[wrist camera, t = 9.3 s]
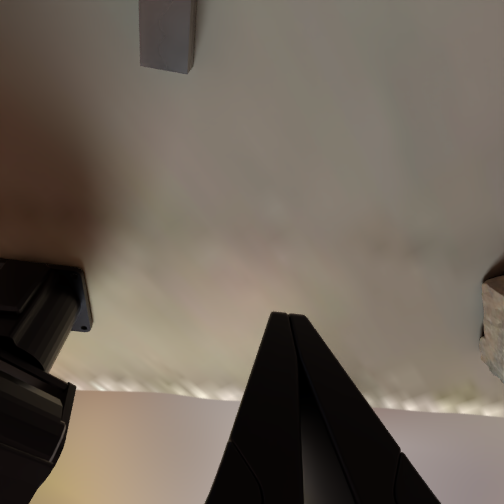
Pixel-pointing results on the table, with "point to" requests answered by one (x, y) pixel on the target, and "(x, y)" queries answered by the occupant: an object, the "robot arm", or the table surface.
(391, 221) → the table surface
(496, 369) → the rock
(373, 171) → the table surface
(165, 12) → the vise
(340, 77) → the table surface
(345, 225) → the table surface
